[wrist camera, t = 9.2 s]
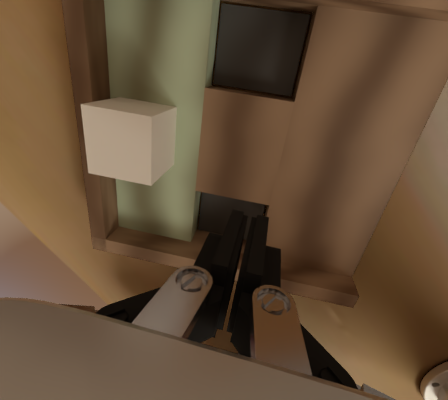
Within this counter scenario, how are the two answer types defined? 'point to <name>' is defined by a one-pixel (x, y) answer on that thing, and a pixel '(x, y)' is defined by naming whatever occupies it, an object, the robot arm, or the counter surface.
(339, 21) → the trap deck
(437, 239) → the counter surface
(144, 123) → the block
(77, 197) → the counter surface
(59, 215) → the counter surface
